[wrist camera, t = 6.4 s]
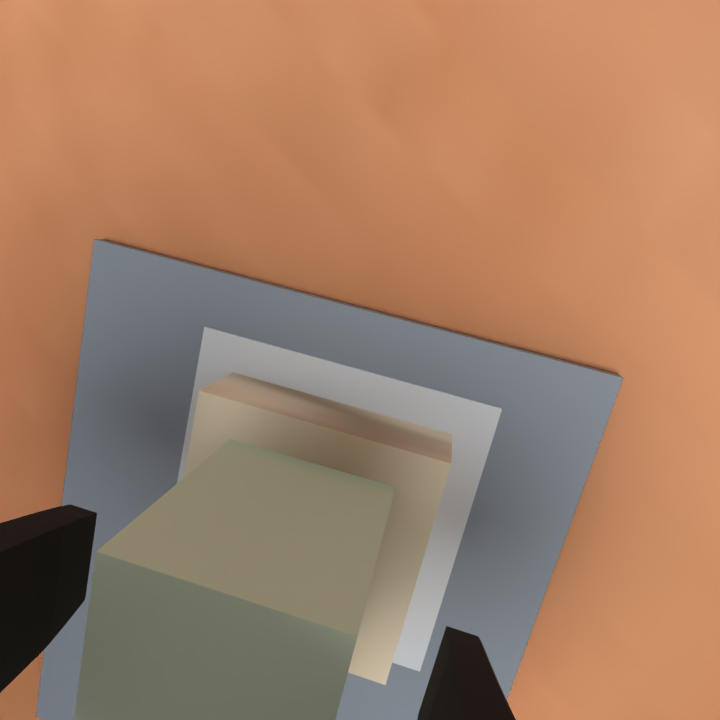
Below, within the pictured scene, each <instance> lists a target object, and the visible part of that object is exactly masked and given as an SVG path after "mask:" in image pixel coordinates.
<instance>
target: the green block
mask: <svg viewBox="0 0 720 720" xmlns="http://www.w3.org/2000/svg"><path fill="white" fill-rule="evenodd" d="M394 491H395V487H394V486H390V485H387V484H383V483H380V482H376V481H373V480H370V479H366V478H363V477H359V476H356V475H352V474H349V473H345V472H342V471H339V470H335V469H332V468H328V467H325V466H321V465H318V464H315V463H311V462H308V461H304V460H301V459H297V458H294V457H290V456H287V455H284V454H280V453H277V452H273V451H270V450H266V449H263V448H260V447H256V446H253V445H249V444H246V443H242V442H239V441H235V440H232V439H230V440H229V441H227V442H226V443H225V444H224V445H223V446H221V447H220V448H219V449H218V450H217V451H215V452H214V453H213V454H212V455H211V456H209V457H208V458H207V459H206V460H205V461H203V462H202V463H201V464H200V465H199V466H197V467H196V468H195V469H194V470H193V471H192V472H190V473H189V474H188V475H187V476H186V477H184V478H183V479H182V480H181V481H180V482H178V483H177V484H176V485H175V486H174V487H172V488H171V489H170V490H169V491H168V492H166V493H165V494H164V495H163V496H162V497H160V498H159V499H158V500H157V501H156V502H155V503H153V504H152V505H151V506H150V507H149V508H147V509H146V510H145V511H144V512H143V513H141V514H140V515H139V516H138V517H137V518H135V519H134V520H133V521H132V522H131V523H129V524H128V525H127V526H126V527H125V528H123V529H122V530H121V531H120V532H119V533H118V534H116V535H115V536H114V537H113V538H112V539H110V540H109V541H108V542H107V543H106V544H104V545H103V546H102V547H101V548H100V549H98V550H97V551H96V556H95V564H94V571H93V579H92V586H91V594H90V601H89V609H88V616H87V624H86V631H85V639H84V646H83V654H82V661H81V669H80V676H79V684H78V691H77V699H76V706H75V714H74V720H335V719H336V715H337V711H338V708H339V704H340V700H341V696H342V693H343V689H344V685H345V681H346V678H347V674H348V670H349V666H350V663H351V659H352V655H353V652H354V648H355V644H356V640H357V637H358V633H359V629H360V625H361V621H362V617H363V613H364V609H365V605H366V601H367V597H368V593H369V589H370V585H371V582H372V578H373V574H374V570H375V566H376V562H377V558H378V554H379V550H380V546H381V542H382V538H383V534H384V530H385V527H386V523H387V519H388V515H389V511H390V507H391V503H392V499H393V495H394Z"/></svg>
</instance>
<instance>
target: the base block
mask: <svg viewBox="0 0 720 720" xmlns="http://www.w3.org/2000/svg"><path fill="white" fill-rule="evenodd" d="M230 439H232V440H235V441H239V442H242V443H246V444H249V445H253V446H256V447H260V448H263V449H266V450H270V451H273V452H277V453H280V454H284V455H287V456H290V457H294V458H297V459H301V460H304V461H308V462H311V463H315V464H318V465H321V466H325V467H328V468H332V469H335V470H339V471H342V472H345V473H349V474H352V475H356V476H359V477H363V478H366V479H370V480H373V481H376V482H380V483H383V484H387V485H390V486H394V487H395V491H394V495H393V499H392V503H391V507H390V511H389V515H388V519H387V523H386V527H385V530H384V534H383V538H382V542H381V546H380V550H379V554H378V558H377V562H376V566H375V570H374V574H373V578H372V582H371V585H370V589H369V593H368V597H367V601H366V605H365V609H364V613H363V617H362V621H361V625H360V629H359V633H358V637H357V640H356V644H355V648H354V652H353V655H352V659H351V663H350V666H349V670H348V673H351V674H354V675H357V676H360V677H363V678H366V679H369V680H372V681H375V682H377V683H380V684H383V685H386V682H387V679H388V675H389V672H390V668H391V665H392V662H393V658H394V655H395V652H396V648H397V645H398V642H399V638H400V635H401V632H402V628H403V625H404V621H405V618H406V615H407V611H408V608H409V605H410V601H411V598H412V595H413V591H414V588H415V584H416V581H417V578H418V574H419V571H420V568H421V564H422V561H423V558H424V554H425V551H426V548H427V544H428V541H429V537H430V534H431V531H432V527H433V524H434V521H435V517H436V514H437V511H438V507H439V504H440V501H441V497H442V494H443V490H444V487H445V484H446V480H447V477H448V474H449V470H450V467H451V461H452V434H449V433H445V432H442V431H438V430H435V429H431V428H427V427H424V426H420V425H417V424H413V423H410V422H406V421H403V420H399V419H396V418H392V417H389V416H385V415H382V414H378V413H375V412H371V411H368V410H364V409H360V408H357V407H353V406H350V405H346V404H343V403H339V402H336V401H332V400H329V399H325V398H322V397H318V396H315V395H311V394H308V393H304V392H301V391H297V390H293V389H290V388H286V387H283V386H279V385H276V384H272V383H269V382H265V381H262V380H258V379H255V378H251V377H248V376H244V375H241V374H237V373H234V372H232V373H230V374H229V375H227V376H225V377H223V378H221V379H219V380H218V381H216V382H214V383H212V384H210V385H208V386H207V387H205V388H203V389H201V390H199V394H198V399H197V405H196V411H195V416H194V422H193V428H192V433H191V439H190V445H189V450H188V456H187V462H186V467H185V473H184V477H186V476H187V475H188V474H189V473H190V472H192V471H193V470H194V469H195V468H196V467H197V466H199V465H200V464H201V463H202V462H203V461H205V460H206V459H207V458H208V457H209V456H211V455H212V454H213V453H214V452H215V451H217V450H218V449H219V448H220V447H221V446H223V445H224V444H225V443H226V442H227V441H229V440H230Z"/></svg>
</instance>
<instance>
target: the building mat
mask: <svg viewBox="0 0 720 720" xmlns="http://www.w3.org/2000/svg"><path fill="white" fill-rule="evenodd" d="M232 372H234V373H237V374H241V375H244V376H248V377H251V378H255V379H258V380H262V381H265V382H269V383H272V384H276V385H279V386H283V387H286V388H290V389H293V390H297V391H301V392H304V393H308V394H311V395H315V396H318V397H322V398H325V399H329V400H332V401H336V402H339V403H343V404H346V405H350V406H353V407H357V408H360V409H364V410H368V411H371V412H375V413H378V414H382V415H385V416H389V417H392V418H396V419H399V420H403V421H406V422H410V423H413V424H417V425H420V426H424V427H427V428H431V429H435V430H438V431H442V432H445V433H449V434H452V461H451V467H450V470H449V474H448V477H447V480H446V484H445V487H444V490H443V494H442V497H441V501H440V504H439V507H438V511H437V514H436V517H435V521H434V524H433V527H432V531H431V534H430V537H429V541H428V544H427V548H426V551H425V554H424V558H423V561H422V564H421V568H420V571H419V574H418V578H417V581H416V584H415V588H414V591H413V595H412V598H411V601H410V605H409V608H408V611H407V615H406V618H405V621H404V625H403V628H402V632H401V635H400V638H399V642H398V645H397V648H396V652H395V655H394V658H393V662H392V665H391V668H390V672H389V675H388V679H387V682H386V685H383V684H380V683H377V682H375V681H372V680H369V679H366V678H363V677H360V676H357V675H354V674H351V673H348V674H347V678H346V681H345V685H344V689H343V693H342V696H341V700H340V704H339V708H338V711H337V715H336V719H335V720H417V719H418V713H419V710H420V707H421V704H422V701H423V698H424V694H425V691H426V688H427V685H428V682H429V679H430V676H431V673H432V669H433V666H434V663H435V660H436V657H437V654H438V651H439V647H440V644H441V641H442V638H443V635H444V632H445V629H446V626H448V627H451V628H454V629H457V630H460V631H464V632H467V633H470V634H473V635H476V636H479V638H480V640H481V642H482V644H483V646H484V649H485V651H486V654H487V656H488V658H489V661H490V663H491V666H492V668H493V670H494V673H495V675H496V677H497V680H498V682H499V684H500V687H501V689H502V691H503V693H504V696H505V698H506V700H507V698H508V695H509V692H510V690H511V687H512V684H513V681H514V679H515V676H516V673H517V670H518V667H519V665H520V662H521V659H522V656H523V654H524V651H525V648H526V645H527V643H528V640H529V637H530V634H531V632H532V629H533V626H534V623H535V621H536V618H537V615H538V612H539V609H540V607H541V604H542V601H543V598H544V596H545V593H546V590H547V587H548V585H549V582H550V579H551V576H552V574H553V571H554V568H555V565H556V563H557V560H558V557H559V554H560V551H561V549H562V546H563V543H564V540H565V538H566V535H567V532H568V529H569V527H570V524H571V521H572V518H573V516H574V513H575V510H576V507H577V505H578V502H579V499H580V496H581V493H582V491H583V488H584V485H585V482H586V480H587V477H588V474H589V471H590V469H591V466H592V463H593V460H594V458H595V455H596V452H597V449H598V446H599V444H600V441H601V438H602V435H603V433H604V430H605V427H606V424H607V422H608V419H609V416H610V413H611V411H612V408H613V405H614V402H615V400H616V397H617V394H618V391H619V388H620V386H621V383H622V380H623V377H621V376H620V375H619V374H615V373H611V372H608V371H604V370H600V369H596V368H592V367H588V366H585V365H581V364H577V363H573V362H569V361H566V360H562V359H558V358H554V357H550V356H546V355H543V354H539V353H535V352H531V351H527V350H523V349H520V348H516V347H512V346H508V345H504V344H501V343H497V342H493V341H489V340H485V339H481V338H478V337H474V336H470V335H466V334H462V333H459V332H455V331H451V330H447V329H443V328H439V327H436V326H432V325H428V324H424V323H420V322H416V321H413V320H409V319H405V318H401V317H397V316H394V315H390V314H386V313H382V312H378V311H374V310H371V309H367V308H363V307H359V306H355V305H352V304H348V303H344V302H340V301H336V300H332V299H329V298H325V297H321V296H317V295H313V294H310V293H306V292H302V291H298V290H294V289H290V288H287V287H283V286H279V285H275V284H271V283H267V282H264V281H260V280H256V279H252V278H248V277H245V276H241V275H237V274H233V273H229V272H225V271H222V270H218V269H214V268H210V267H206V266H203V265H199V264H195V263H191V262H187V261H183V260H180V259H176V258H172V257H168V256H164V255H161V254H157V253H153V252H149V251H145V250H141V249H138V248H134V247H130V246H126V245H122V244H118V243H115V242H111V241H107V240H102V239H94V245H93V253H92V261H91V270H90V278H89V286H88V294H87V302H86V310H85V319H84V327H83V335H82V343H81V351H80V359H79V368H78V376H77V384H76V392H75V400H74V409H73V417H72V425H71V433H70V441H69V449H68V458H67V466H66V474H65V482H64V490H63V498H62V506H65V505H69V504H71V505H74V506H77V507H80V508H83V509H86V510H90V511H93V512H96V513H97V519H96V526H95V533H94V540H93V547H92V555H91V562H90V569H89V576H88V583H87V590H86V597H85V600H84V602H83V603H82V604H81V606H80V607H79V608H78V609H77V611H76V612H75V613H74V615H73V616H72V617H71V618H70V620H69V621H68V622H67V623H66V625H65V626H64V627H63V628H62V629H61V631H60V632H59V633H58V634H57V635H56V637H55V638H54V639H53V640H52V641H51V643H50V644H49V645H48V646H47V647H46V648H45V649H44V654H43V662H42V670H41V678H40V686H39V695H38V703H37V711H36V717H39V718H41V719H44V720H74V714H75V706H76V699H77V691H78V684H79V676H80V669H81V661H82V654H83V646H84V639H85V631H86V624H87V616H88V609H89V601H90V594H91V586H92V579H93V571H94V564H95V556H96V551H97V550H98V549H100V548H101V547H102V546H103V545H104V544H106V543H107V542H108V541H109V540H110V539H112V538H113V537H114V536H115V535H116V534H118V533H119V532H120V531H121V530H122V529H123V528H125V527H126V526H127V525H128V524H129V523H131V522H132V521H133V520H134V519H135V518H137V517H138V516H139V515H140V514H141V513H143V512H144V511H145V510H146V509H147V508H149V507H150V506H151V505H152V504H153V503H155V502H156V501H157V500H158V499H159V498H160V497H162V496H163V495H164V494H165V493H166V492H168V491H169V490H170V489H171V488H172V487H174V486H175V485H176V484H177V483H178V482H180V481H181V480H182V479H183V478H184V473H185V467H186V462H187V456H188V450H189V445H190V439H191V433H192V428H193V422H194V416H195V411H196V405H197V399H198V394H199V390H201V389H203V388H205V387H207V386H208V385H210V384H212V383H214V382H216V381H218V380H219V379H221V378H223V377H225V376H227V375H229V374H230V373H232Z"/></svg>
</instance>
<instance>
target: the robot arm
mask: <svg viewBox="0 0 720 720" xmlns="http://www.w3.org/2000/svg"><path fill="white" fill-rule="evenodd" d="M96 519H97V513H96V512H93V511H90V510H86V509H83V508H80V507H77V506H74V505H71V504H69V505H65V506H60V507H56V508H52V509H48V510H44V511H41V512H37V513H34V514H30V515H27V516H23V517H20V518H17V519H13V520H10V521H6V522H3V523H0V692H1V691H2V690H3V689H4V688H5V687H6V686H7V685H9V684H10V683H11V682H12V681H13V680H14V679H15V678H16V677H17V676H18V675H19V674H20V673H21V672H22V671H23V670H24V669H25V668H26V667H27V666H28V665H29V664H30V663H31V662H32V661H33V660H34V659H35V658H36V657H37V656H38V655H39V654H40V653H41V652H42V651H43V650H44V649H45V648H46V647H47V646H48V645H49V644H50V643H51V641H52V640H53V639H54V638H55V637H56V635H57V634H58V633H59V632H60V631H61V629H62V628H63V627H64V626H65V625H66V623H67V622H68V621H69V620H70V618H71V617H72V616H73V615H74V613H75V612H76V611H77V609H78V608H79V607H80V606H81V604H82V603H83V602H84V600H85V597H86V590H87V583H88V576H89V569H90V562H91V555H92V547H93V540H94V533H95V526H96ZM417 720H516V719H515V717H514V715H513V713H512V711H511V709H510V707H509V705H508V702H507V700H506V698H505V696H504V693H503V691H502V689H501V687H500V684H499V682H498V680H497V677H496V675H495V673H494V670H493V668H492V666H491V663H490V661H489V658H488V656H487V654H486V651H485V649H484V646H483V644H482V642H481V640H480V638H479V636H476V635H473V634H470V633H467V632H464V631H460V630H457V629H454V628H451V627H448V626H446V629H445V632H444V635H443V638H442V641H441V644H440V647H439V651H438V654H437V657H436V660H435V663H434V666H433V669H432V673H431V676H430V679H429V682H428V685H427V688H426V691H425V694H424V698H423V701H422V704H421V707H420V710H419V713H418V719H417Z"/></svg>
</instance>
